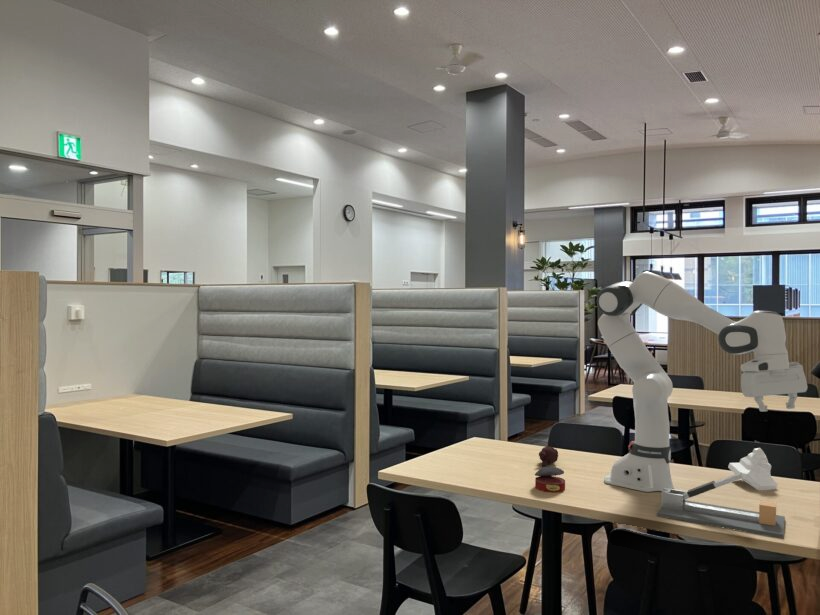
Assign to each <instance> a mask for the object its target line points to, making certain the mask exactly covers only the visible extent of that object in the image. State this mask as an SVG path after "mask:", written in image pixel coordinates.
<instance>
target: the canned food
mask: <svg viewBox="0 0 820 615" xmlns="http://www.w3.org/2000/svg"><path fill="white" fill-rule="evenodd" d="M563 474H565V471H564V469H561V468H559V467H557V466H545V467H543V466H542V468H539V470H538V471H536V472H535V473H534V476H536V477H535V480H534V482H535V484H534V486H535V489H536V490H538V491H540V492H541V491H542V492H545V493H562V492H564V491H565V490H566V480H565V479H564V478H562V477H560V476H561V475H563Z"/></svg>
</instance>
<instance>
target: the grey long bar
mask: <svg viewBox="0 0 820 615" xmlns="http://www.w3.org/2000/svg"><path fill="white" fill-rule="evenodd" d="M686 492H687V491H685V490H679V489H675V488H673V489H668V488H664V490H663V491H660V494H661V498H660V499H661V500H660V508H661V507H663V508H669V509H675V510H681V511H683V510H688V511H694V512H700V513H706V514H712V515H718V516H724V517H730V518H735V519H741V520H747V521H753V522H759V514H755V513H749V512H742V511H736V510H730V509H724V508H718V507H712V506H706V505H700V504H693V503H687V502H685V500H686V499H685V500H683V495H681V494H684V493H686ZM775 525H776V524H775Z"/></svg>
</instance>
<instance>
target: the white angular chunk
mask: <svg viewBox="0 0 820 615" xmlns="http://www.w3.org/2000/svg"><path fill="white" fill-rule="evenodd" d="M727 468H728V469H729V471H730V470H731V472H733V474H737V473H740V472H742V474H743V478H742V479H741V480H742V481H743V482H745V483H747V484H748V485H749V486H751V487H752V488H754V489H755V490H757V491H758V490H759V491H758V492H761V491H760V490H764V491H772V490H771V489H774V490H777V489H778V485H779V484H778V482H776V481H775V480H774V478H773V477H772V475H771V474H772V473H771V470H772V465H771V463H769V460H768V458H767V455H766V454H765V452H764V450H763V449H762V448H761V447H757V448H753V450H752V452H750V453H748V454H747V456H744V457H742V458H740V460H739V462H729V464H728V467H727Z"/></svg>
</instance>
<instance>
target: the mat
mask: <svg viewBox="0 0 820 615" xmlns="http://www.w3.org/2000/svg"><path fill="white" fill-rule="evenodd" d="M685 502H687V503H693V504H700V505H706V506H712V507H718V508H724V509H730V510H736V511H742V512H749V513H755V514H759V511H753V510H747V509H741V508H737V507H736V508H734V507H729V506H725V505H723V506H722V505H717V504H711V503H704V502H698V501H692V500H687V499H685ZM656 516H657V517H660V516H662V517H661V518H665V517H668V518H667V519H671V518H673V519H672V520H676V519H678V521H682V520H684V521H683V522H688V521H689V523H694V524H699V525H700V524H701V525H705V526H710V525H712V527H716V526H718V528H722V527H724V528H723V529H727V528H729V530H733V529H735V530H734V531H738V530H741V531H740V532H744V531H746V532H745V533H750V534H757V535H763V536H767V537H768V536H769V537H773V538H778V539H779V538H780V539H784V534H785V532H784V531H785V530H784V529H785V519H786V517H785V516H784V515H779V514H776V525H775V526H773V525H767V524H761V523H759V522H753V521H747V520H741V519H735V518H730V517H724V516H718V515H712V514H706V513H700V512H694V511H688V510H683V511H681V510H675V509H669V508H663V507H661V506H660V508H659V509H658V511H657V512H656Z"/></svg>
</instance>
